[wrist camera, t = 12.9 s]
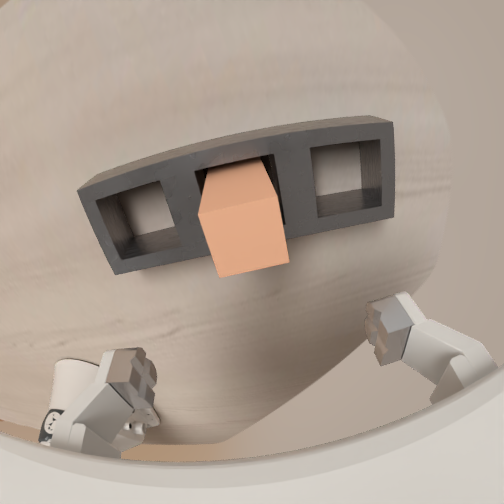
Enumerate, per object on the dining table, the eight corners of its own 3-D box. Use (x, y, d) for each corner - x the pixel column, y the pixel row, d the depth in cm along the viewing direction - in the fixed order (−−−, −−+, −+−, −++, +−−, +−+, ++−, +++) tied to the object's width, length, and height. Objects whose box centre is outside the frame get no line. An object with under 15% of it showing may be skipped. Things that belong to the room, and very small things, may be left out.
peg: (267, 196, 24) (289, 262, 16) (221, 207, 25) (219, 277, 16) (257, 152, 22) (277, 196, 14) (209, 164, 22) (197, 214, 14)
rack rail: (373, 199, 25) (393, 217, 22) (127, 250, 26) (115, 275, 23) (369, 115, 21) (392, 121, 18) (96, 174, 22) (76, 190, 18)
